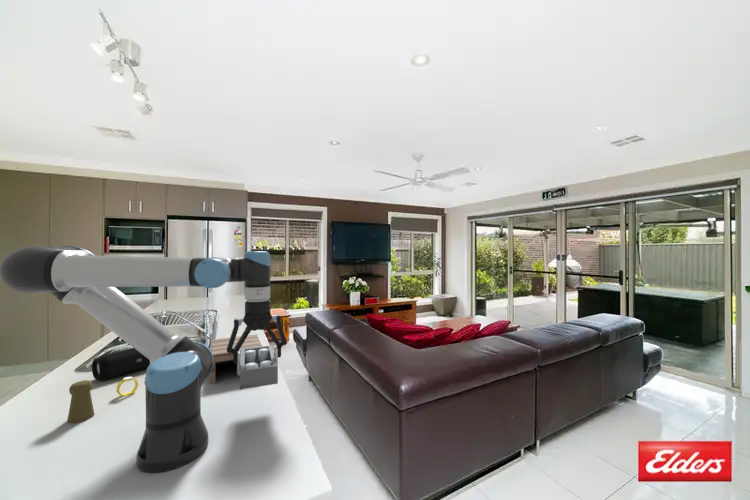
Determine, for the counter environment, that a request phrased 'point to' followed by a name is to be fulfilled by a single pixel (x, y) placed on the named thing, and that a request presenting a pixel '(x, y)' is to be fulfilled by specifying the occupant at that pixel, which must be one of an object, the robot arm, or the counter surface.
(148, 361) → the portable speaker
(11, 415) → the counter surface
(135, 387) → the watch
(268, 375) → the tray
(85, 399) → the cork
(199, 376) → the robot arm
